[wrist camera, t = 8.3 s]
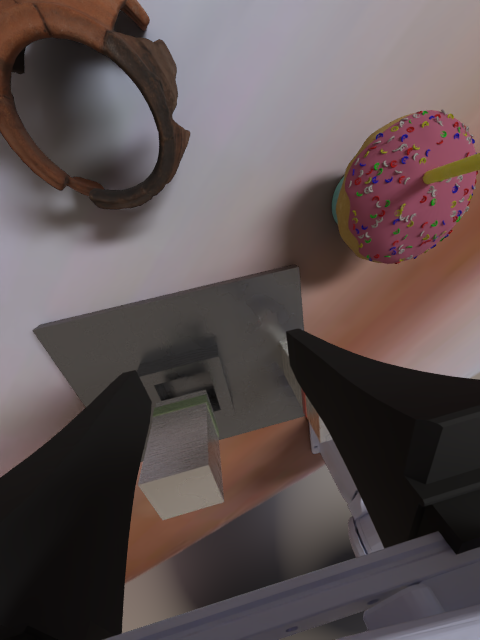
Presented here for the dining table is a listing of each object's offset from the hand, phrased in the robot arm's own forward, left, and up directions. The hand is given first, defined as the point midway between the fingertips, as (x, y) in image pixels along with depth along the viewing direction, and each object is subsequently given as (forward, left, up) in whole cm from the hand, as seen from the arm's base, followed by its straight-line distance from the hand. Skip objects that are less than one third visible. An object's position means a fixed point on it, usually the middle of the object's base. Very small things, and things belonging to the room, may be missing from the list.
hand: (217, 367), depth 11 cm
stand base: (-8, +4, -10) cm, 14 cm away
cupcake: (+5, -14, -11) cm, 18 cm away
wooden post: (-8, +4, -6) cm, 11 cm away
